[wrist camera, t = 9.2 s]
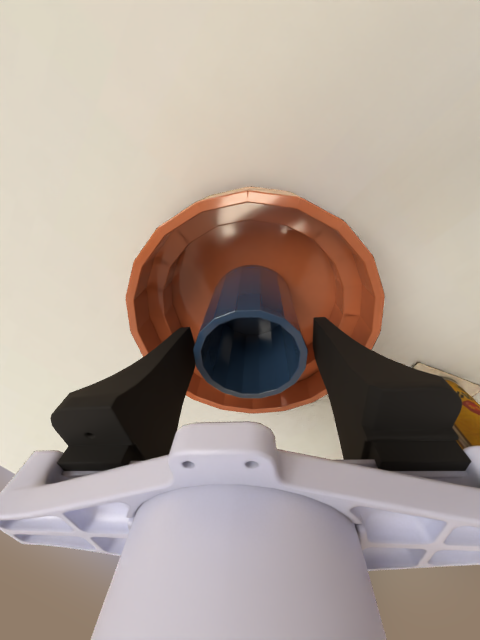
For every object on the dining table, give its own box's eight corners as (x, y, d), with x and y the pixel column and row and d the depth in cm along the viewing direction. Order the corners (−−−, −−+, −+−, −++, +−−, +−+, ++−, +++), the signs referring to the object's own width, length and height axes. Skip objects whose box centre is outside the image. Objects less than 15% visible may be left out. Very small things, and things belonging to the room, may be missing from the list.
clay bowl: (396, 297, 18) (435, 331, 14) (253, 395, 24) (253, 437, 20) (249, 121, 13) (245, 100, 9) (118, 300, 19) (84, 331, 15)
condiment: (484, 386, 22) (690, 578, 11) (415, 437, 26) (519, 611, 16) (417, 360, 21) (577, 546, 10) (356, 418, 25) (426, 590, 15)
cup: (308, 301, 18) (331, 360, 12) (252, 346, 20) (251, 412, 15) (250, 246, 16) (247, 285, 10) (197, 302, 18) (171, 359, 13)
